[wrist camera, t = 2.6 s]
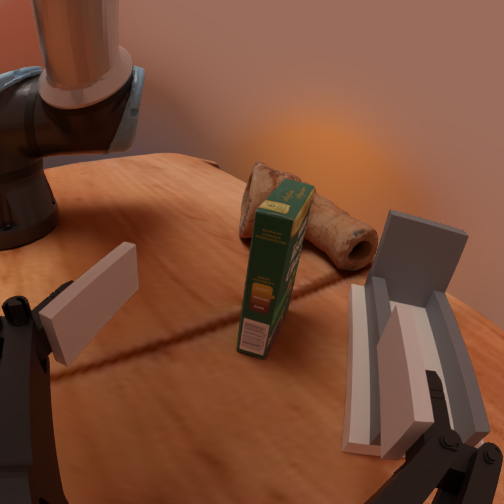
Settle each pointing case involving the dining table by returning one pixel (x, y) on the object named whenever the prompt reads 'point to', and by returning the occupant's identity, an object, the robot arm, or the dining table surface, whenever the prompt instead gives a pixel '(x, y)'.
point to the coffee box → (273, 265)
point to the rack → (426, 323)
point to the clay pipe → (313, 221)
